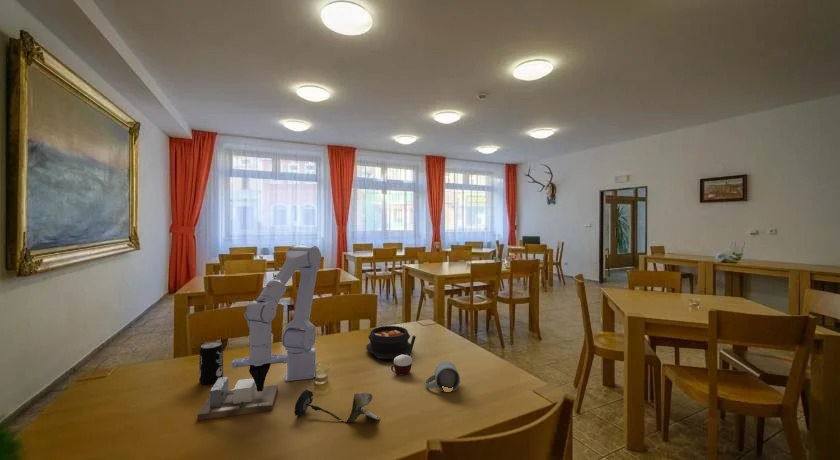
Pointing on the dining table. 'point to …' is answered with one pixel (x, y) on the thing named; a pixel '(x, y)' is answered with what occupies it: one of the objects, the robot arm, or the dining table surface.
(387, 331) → the casserole
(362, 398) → the artificial flower
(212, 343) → the beverage can
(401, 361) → the cocoa
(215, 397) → the grey block
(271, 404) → the base
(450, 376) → the ceramic mug
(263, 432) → the dining table surface
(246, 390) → the gauge carriage
